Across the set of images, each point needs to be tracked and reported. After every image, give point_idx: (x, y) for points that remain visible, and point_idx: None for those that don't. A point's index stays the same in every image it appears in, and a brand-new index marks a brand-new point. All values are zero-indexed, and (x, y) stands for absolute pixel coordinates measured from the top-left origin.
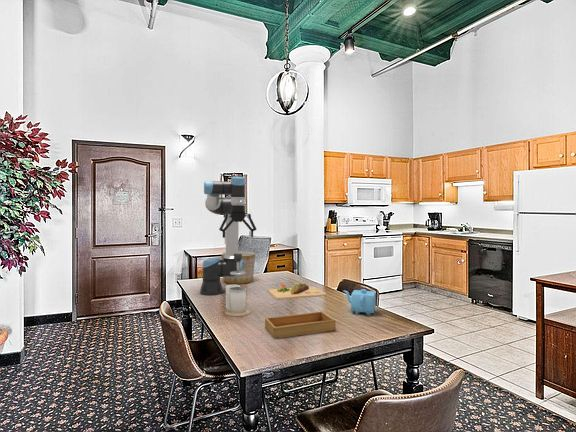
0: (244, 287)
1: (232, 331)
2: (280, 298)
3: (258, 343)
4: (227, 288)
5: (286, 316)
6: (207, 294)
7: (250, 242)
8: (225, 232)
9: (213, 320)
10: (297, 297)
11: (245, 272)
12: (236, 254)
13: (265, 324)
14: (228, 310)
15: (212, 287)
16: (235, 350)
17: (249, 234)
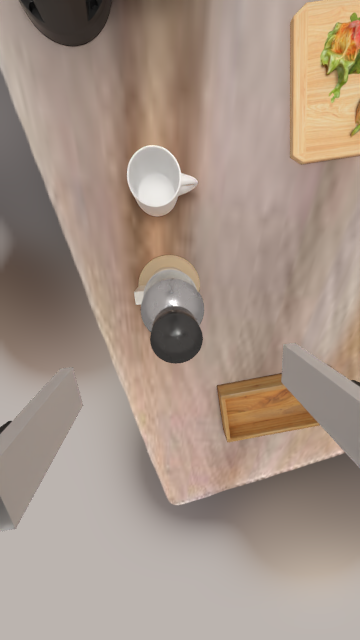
0: (192, 283)
1: (158, 397)
2: (303, 163)
3: (197, 443)
4: (135, 197)
5: (263, 391)
6: (55, 39)
7: (290, 386)
8: (5, 522)
9: (117, 335)
10: (356, 155)
11: (203, 311)
12: (167, 360)
13: (218, 391)
14: (146, 277)
15: (62, 8)
16: (163, 461)
17: (341, 412)
